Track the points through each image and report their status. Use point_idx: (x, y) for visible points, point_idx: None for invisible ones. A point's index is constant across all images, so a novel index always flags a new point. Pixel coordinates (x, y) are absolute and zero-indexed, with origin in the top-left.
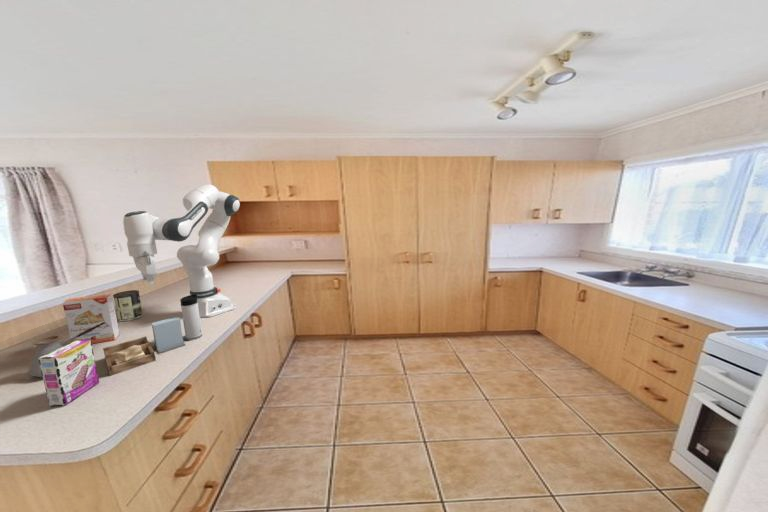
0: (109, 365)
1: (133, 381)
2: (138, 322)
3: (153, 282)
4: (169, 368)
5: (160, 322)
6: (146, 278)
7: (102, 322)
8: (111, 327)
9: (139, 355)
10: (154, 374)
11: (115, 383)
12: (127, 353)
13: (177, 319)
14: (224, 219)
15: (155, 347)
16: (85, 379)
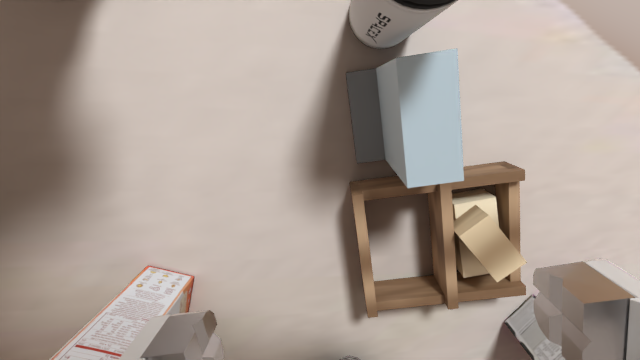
0: (524, 290)
1: (608, 220)
2: (27, 210)
3: (621, 279)
4: (614, 124)
5: (435, 147)
6: (199, 357)
7: None
8: (171, 311)
9: (496, 212)
10: (616, 168)
11: (574, 259)
12: (519, 253)
13: (457, 61)
14: None
15: (380, 159)
16: None
